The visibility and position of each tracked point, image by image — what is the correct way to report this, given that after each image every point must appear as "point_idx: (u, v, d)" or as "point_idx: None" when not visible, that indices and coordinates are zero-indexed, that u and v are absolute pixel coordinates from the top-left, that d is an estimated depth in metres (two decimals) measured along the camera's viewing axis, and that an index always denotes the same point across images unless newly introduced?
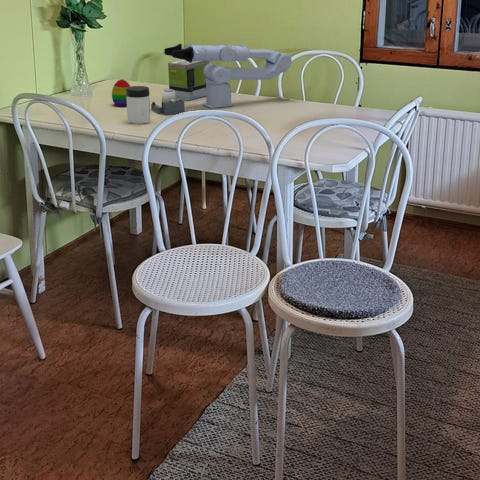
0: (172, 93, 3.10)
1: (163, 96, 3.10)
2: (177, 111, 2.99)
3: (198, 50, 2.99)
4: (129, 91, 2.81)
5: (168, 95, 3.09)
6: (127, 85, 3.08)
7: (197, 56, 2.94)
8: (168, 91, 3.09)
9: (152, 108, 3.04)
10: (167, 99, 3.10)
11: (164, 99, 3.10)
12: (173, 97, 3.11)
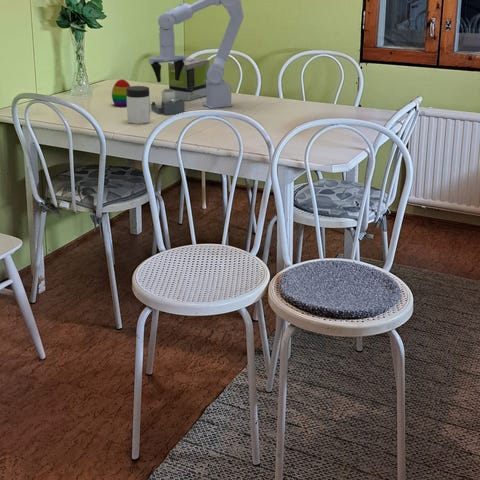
0: (172, 93, 3.10)
1: (163, 96, 3.10)
2: (177, 111, 2.99)
3: None
4: (129, 91, 2.81)
5: (168, 95, 3.09)
6: (127, 85, 3.08)
7: (150, 60, 3.03)
8: (168, 91, 3.09)
9: (152, 108, 3.04)
10: (167, 99, 3.10)
11: (164, 99, 3.10)
12: (173, 97, 3.11)
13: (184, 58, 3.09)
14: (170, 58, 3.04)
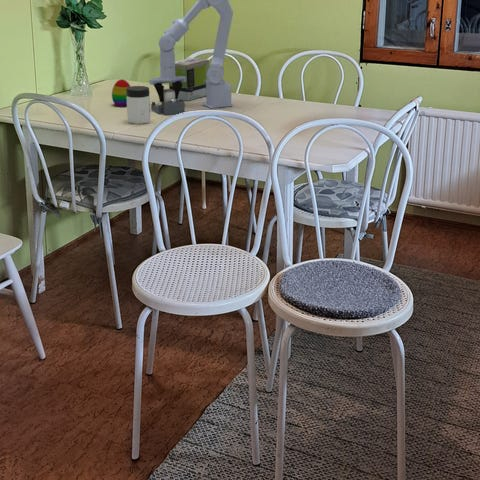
0: (172, 93, 3.10)
1: (163, 96, 3.10)
2: (177, 111, 2.99)
3: None
4: (129, 91, 2.81)
5: (168, 95, 3.09)
6: (127, 85, 3.08)
7: (150, 81, 3.06)
8: (168, 91, 3.09)
9: (152, 108, 3.04)
10: (167, 99, 3.10)
11: (164, 99, 3.10)
12: (173, 97, 3.11)
13: (184, 79, 3.12)
14: (171, 79, 3.07)
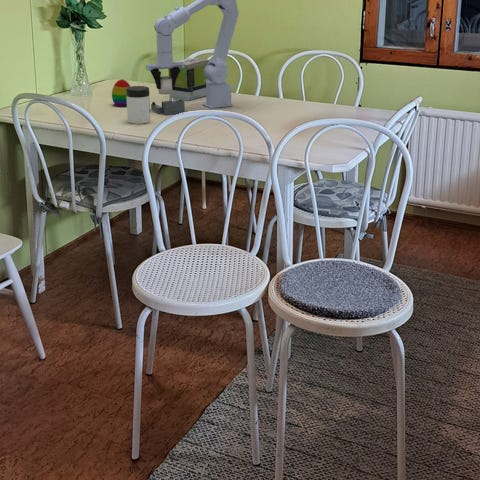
0: (168, 80, 3.00)
1: None
2: (177, 111, 2.99)
3: (157, 58, 2.98)
4: (129, 91, 2.81)
5: (164, 82, 2.99)
6: (127, 85, 3.08)
7: (147, 67, 2.96)
8: (164, 78, 3.00)
9: (152, 108, 3.04)
10: (163, 86, 3.00)
11: None
12: (170, 84, 3.01)
13: (182, 65, 3.01)
14: (168, 65, 2.97)
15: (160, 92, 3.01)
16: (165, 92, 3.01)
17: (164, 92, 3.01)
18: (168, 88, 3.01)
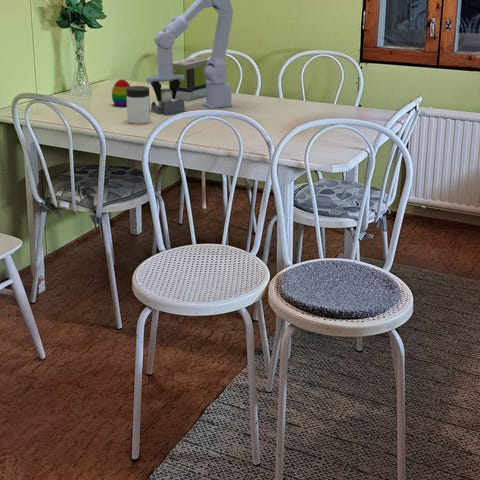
0: (169, 93, 3.02)
1: None
2: (177, 111, 2.99)
3: None
4: (129, 91, 2.81)
5: (165, 95, 3.01)
6: (127, 85, 3.08)
7: (147, 79, 2.98)
8: (165, 91, 3.01)
9: (152, 108, 3.04)
10: (164, 99, 3.02)
11: (161, 99, 3.02)
12: (170, 97, 3.02)
13: (182, 77, 3.03)
14: (168, 77, 2.98)
15: (160, 104, 3.03)
16: None
17: None
18: (168, 100, 3.02)
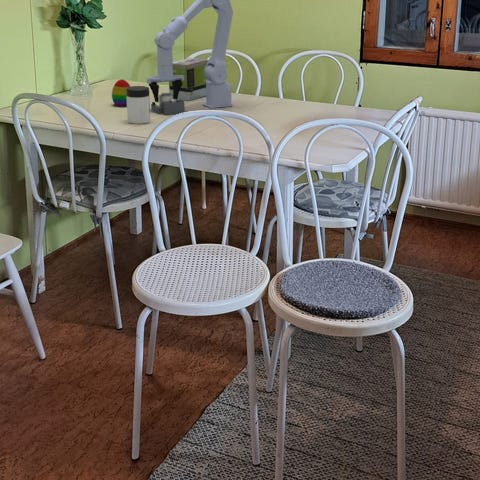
0: (169, 97, 3.02)
1: (160, 100, 3.03)
2: (177, 111, 2.99)
3: None
4: (129, 91, 2.81)
5: (165, 99, 3.02)
6: (127, 85, 3.08)
7: (147, 80, 2.98)
8: (165, 95, 3.02)
9: (152, 108, 3.04)
10: None
11: (161, 103, 3.03)
12: None
13: (182, 78, 3.03)
14: (168, 78, 2.98)
15: None
16: None
17: None
18: None
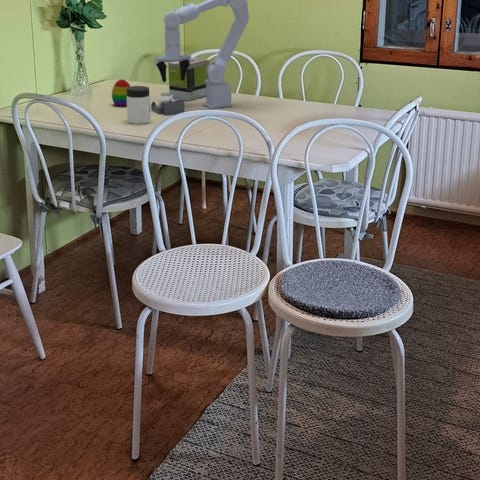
0: (169, 97, 3.02)
1: (160, 100, 3.03)
2: (177, 111, 2.99)
3: (165, 52, 3.03)
4: (129, 91, 2.81)
5: (165, 99, 3.02)
6: (127, 85, 3.08)
7: (155, 60, 3.01)
8: (165, 95, 3.02)
9: (152, 108, 3.04)
10: None
11: (161, 103, 3.03)
12: None
13: (190, 58, 3.06)
14: (176, 58, 3.02)
15: None
16: None
17: None
18: None
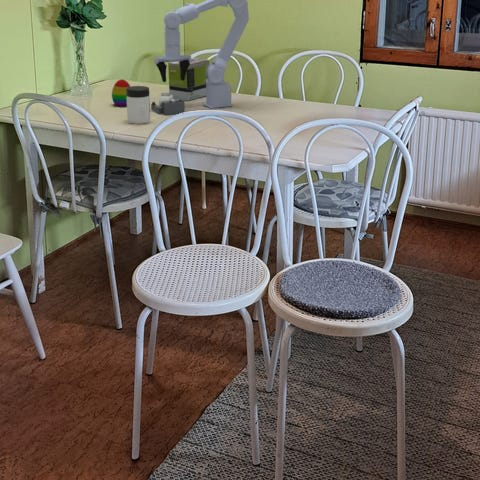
0: (169, 97, 3.02)
1: (160, 100, 3.03)
2: (177, 111, 2.99)
3: (165, 52, 3.03)
4: (129, 91, 2.81)
5: (165, 99, 3.02)
6: (127, 85, 3.08)
7: (155, 60, 3.01)
8: (165, 95, 3.02)
9: (152, 108, 3.04)
10: None
11: (161, 103, 3.03)
12: None
13: (190, 58, 3.06)
14: (176, 58, 3.02)
15: None
16: None
17: None
18: None
